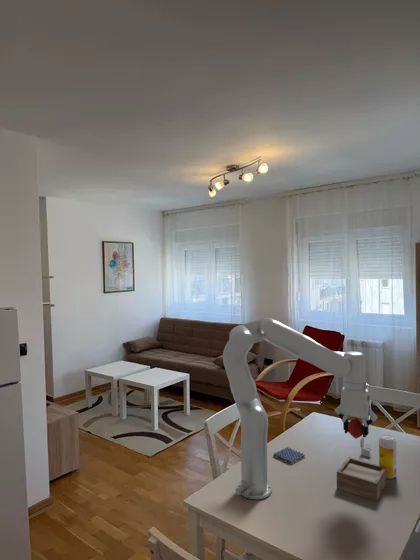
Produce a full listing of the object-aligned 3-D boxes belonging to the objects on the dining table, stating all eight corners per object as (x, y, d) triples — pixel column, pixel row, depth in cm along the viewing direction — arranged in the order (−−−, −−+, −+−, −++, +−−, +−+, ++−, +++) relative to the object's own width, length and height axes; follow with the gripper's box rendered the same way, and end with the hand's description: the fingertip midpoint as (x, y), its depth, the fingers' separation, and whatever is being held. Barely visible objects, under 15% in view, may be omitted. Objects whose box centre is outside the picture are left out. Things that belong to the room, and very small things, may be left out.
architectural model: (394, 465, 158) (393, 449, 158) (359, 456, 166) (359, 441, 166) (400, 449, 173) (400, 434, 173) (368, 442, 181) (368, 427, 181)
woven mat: (271, 458, 166) (271, 453, 166) (286, 450, 173) (286, 446, 173) (290, 466, 158) (290, 462, 158) (306, 458, 165) (306, 454, 165)
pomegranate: (360, 434, 144) (360, 413, 144) (367, 441, 138) (366, 419, 138) (345, 435, 144) (344, 414, 144) (351, 442, 138) (350, 420, 138)
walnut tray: (376, 501, 132) (376, 483, 132) (336, 488, 141) (336, 471, 141) (386, 483, 144) (386, 467, 143) (348, 472, 152) (348, 457, 152)
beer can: (381, 469, 154) (381, 432, 154) (398, 474, 150) (397, 436, 150) (377, 475, 149) (377, 437, 149) (394, 480, 145) (393, 441, 145)
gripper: (382, 386, 139) (383, 436, 139) (335, 380, 149) (336, 425, 149) (376, 392, 133) (377, 443, 133) (328, 384, 143) (329, 432, 143)
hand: (355, 433), depth 141 cm, fingers closed on pomegranate, 5 cm apart
